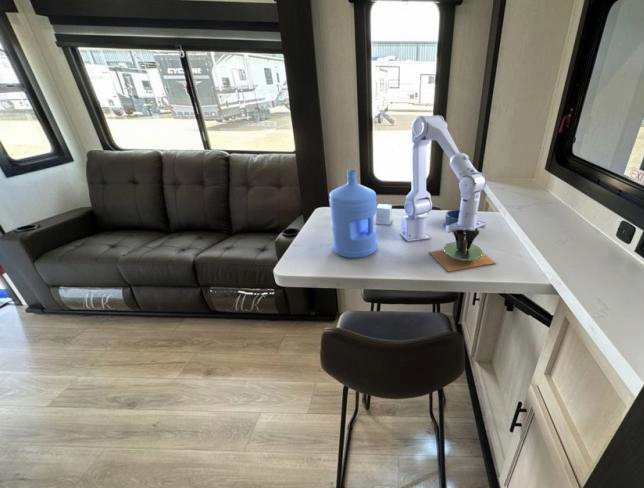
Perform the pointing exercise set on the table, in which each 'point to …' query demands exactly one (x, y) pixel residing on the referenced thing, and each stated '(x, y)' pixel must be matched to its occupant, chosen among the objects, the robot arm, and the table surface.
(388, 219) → the product box
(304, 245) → the table surface
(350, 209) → the water jug
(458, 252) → the lid
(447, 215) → the tin
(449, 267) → the mat
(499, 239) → the table surface
